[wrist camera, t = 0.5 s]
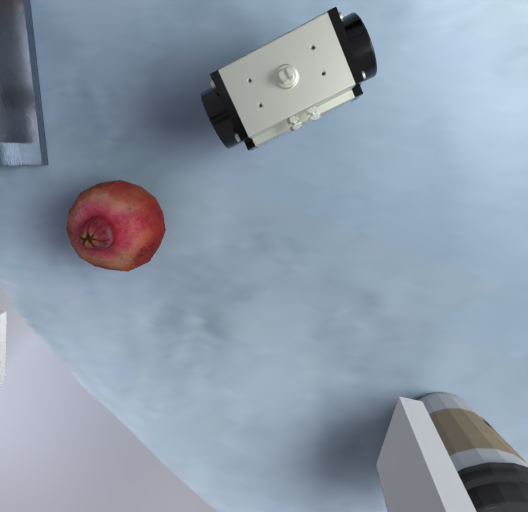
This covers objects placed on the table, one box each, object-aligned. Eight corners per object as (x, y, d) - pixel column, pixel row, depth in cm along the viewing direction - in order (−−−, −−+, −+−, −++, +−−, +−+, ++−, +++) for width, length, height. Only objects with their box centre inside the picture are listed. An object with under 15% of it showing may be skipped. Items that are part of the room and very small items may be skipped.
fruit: (116, 161, 39) (58, 164, 30) (189, 203, 40) (156, 220, 30) (84, 232, 41) (20, 257, 32) (154, 271, 42) (112, 307, 32)
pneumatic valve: (219, 103, 37) (185, 81, 26) (339, 41, 35) (361, -13, 24) (245, 159, 38) (224, 163, 27) (363, 102, 36) (395, 79, 25)
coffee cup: (510, 442, 44) (616, 587, 29) (410, 479, 46) (464, 632, 31) (469, 356, 42) (562, 466, 27) (366, 399, 44) (402, 523, 29)
